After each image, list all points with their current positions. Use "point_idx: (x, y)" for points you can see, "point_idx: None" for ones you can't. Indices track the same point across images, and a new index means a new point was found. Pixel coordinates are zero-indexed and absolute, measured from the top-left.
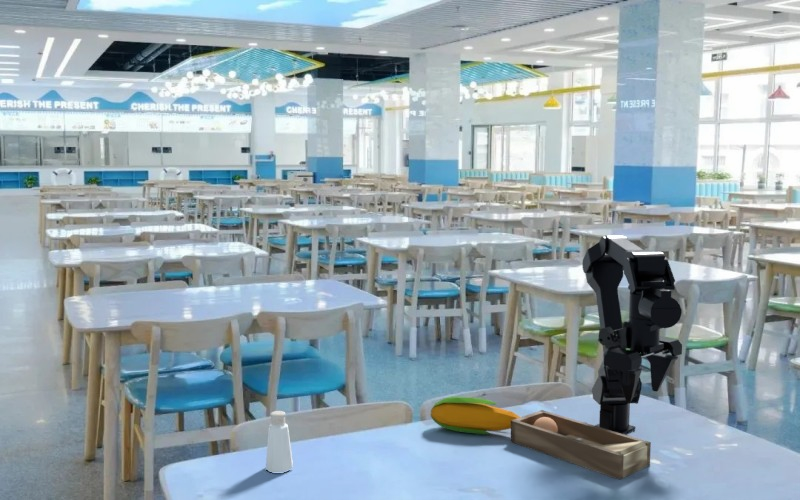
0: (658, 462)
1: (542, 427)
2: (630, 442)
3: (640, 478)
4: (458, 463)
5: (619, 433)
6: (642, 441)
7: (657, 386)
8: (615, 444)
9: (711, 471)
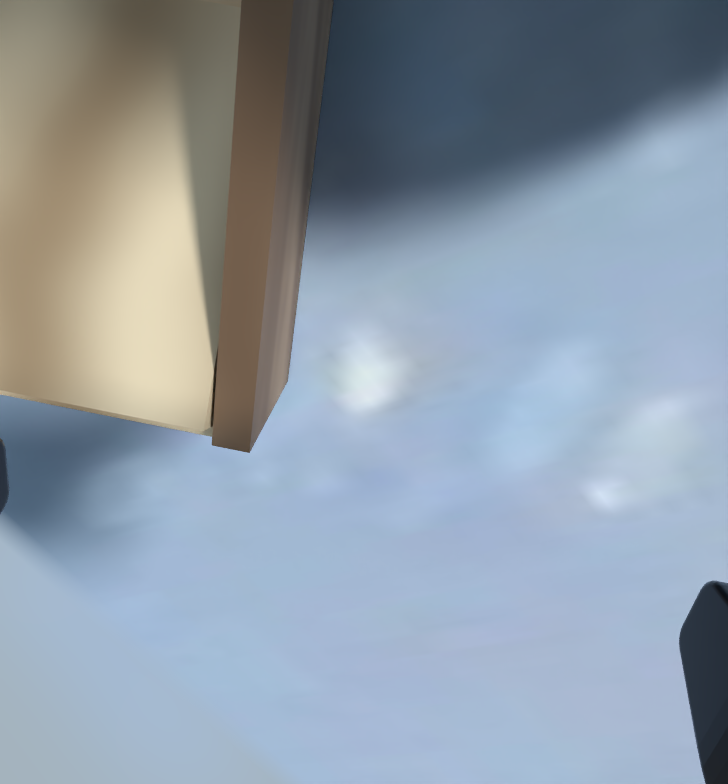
0: (363, 403)
1: None
2: (209, 309)
3: None
4: None
5: (266, 184)
6: (181, 423)
7: (703, 716)
8: (205, 177)
9: (412, 627)
